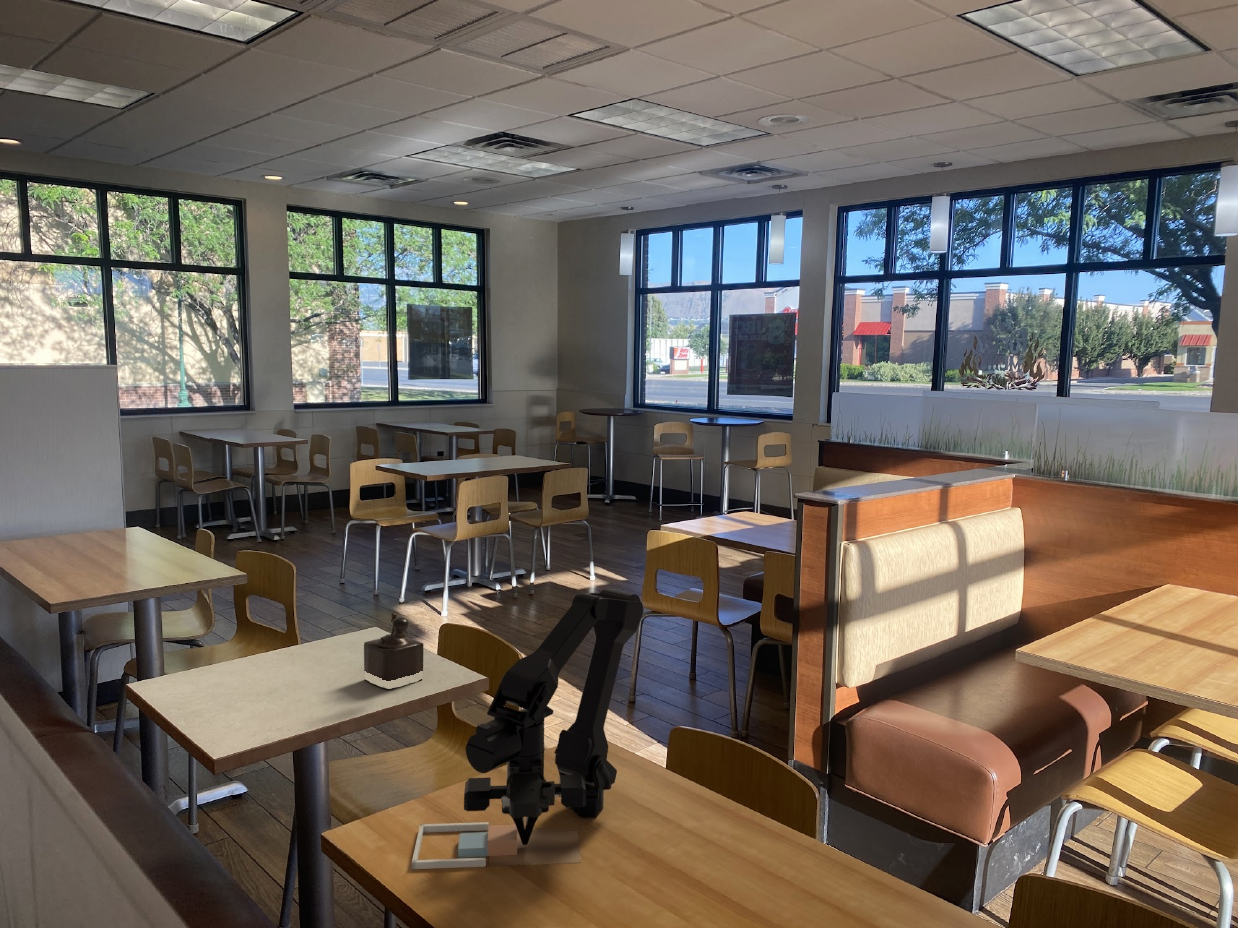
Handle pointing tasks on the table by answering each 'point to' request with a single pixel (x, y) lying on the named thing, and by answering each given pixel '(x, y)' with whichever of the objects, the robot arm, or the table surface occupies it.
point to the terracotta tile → (502, 840)
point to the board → (544, 849)
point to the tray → (447, 862)
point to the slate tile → (473, 844)
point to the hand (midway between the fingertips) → (524, 843)
